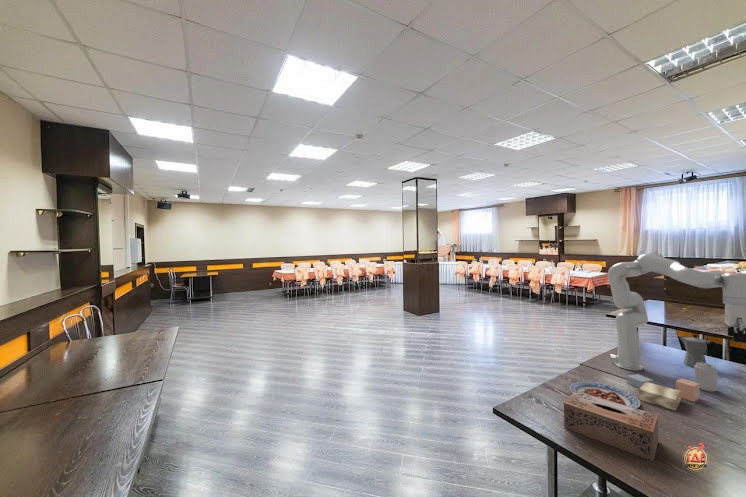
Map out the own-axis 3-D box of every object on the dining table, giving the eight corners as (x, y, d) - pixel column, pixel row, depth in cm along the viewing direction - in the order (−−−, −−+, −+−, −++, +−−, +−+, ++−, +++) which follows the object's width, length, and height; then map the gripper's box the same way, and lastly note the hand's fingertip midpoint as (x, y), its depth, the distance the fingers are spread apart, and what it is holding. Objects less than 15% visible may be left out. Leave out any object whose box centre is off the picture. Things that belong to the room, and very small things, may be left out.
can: (722, 393, 141) (722, 367, 141) (703, 392, 143) (703, 366, 143) (708, 385, 149) (708, 361, 149) (690, 384, 150) (690, 360, 150)
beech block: (638, 400, 138) (638, 389, 138) (645, 391, 145) (645, 381, 145) (675, 411, 128) (675, 399, 128) (680, 402, 135) (680, 391, 135)
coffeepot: (677, 364, 175) (677, 333, 174) (680, 360, 180) (680, 330, 180) (717, 373, 162) (717, 339, 162) (719, 368, 168) (719, 336, 168)
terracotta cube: (675, 396, 140) (675, 381, 140) (681, 393, 143) (681, 378, 142) (694, 402, 134) (693, 386, 134) (699, 398, 137) (699, 383, 137)
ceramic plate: (641, 397, 140) (641, 391, 140) (639, 422, 121) (639, 414, 121) (575, 381, 157) (575, 375, 157) (564, 400, 138) (564, 394, 138)
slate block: (627, 383, 154) (627, 375, 153) (637, 381, 155) (637, 374, 155) (642, 389, 147) (642, 381, 147) (653, 387, 148) (653, 379, 148)
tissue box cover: (658, 442, 109) (658, 414, 109) (653, 462, 99) (653, 432, 99) (575, 413, 128) (574, 390, 128) (564, 428, 118) (563, 402, 118)
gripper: (718, 297, 143) (718, 333, 143) (728, 303, 130) (728, 342, 130) (742, 298, 138) (743, 335, 138) (755, 304, 125) (756, 346, 125)
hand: (736, 339), depth 134 cm, fingers open, 9 cm apart
